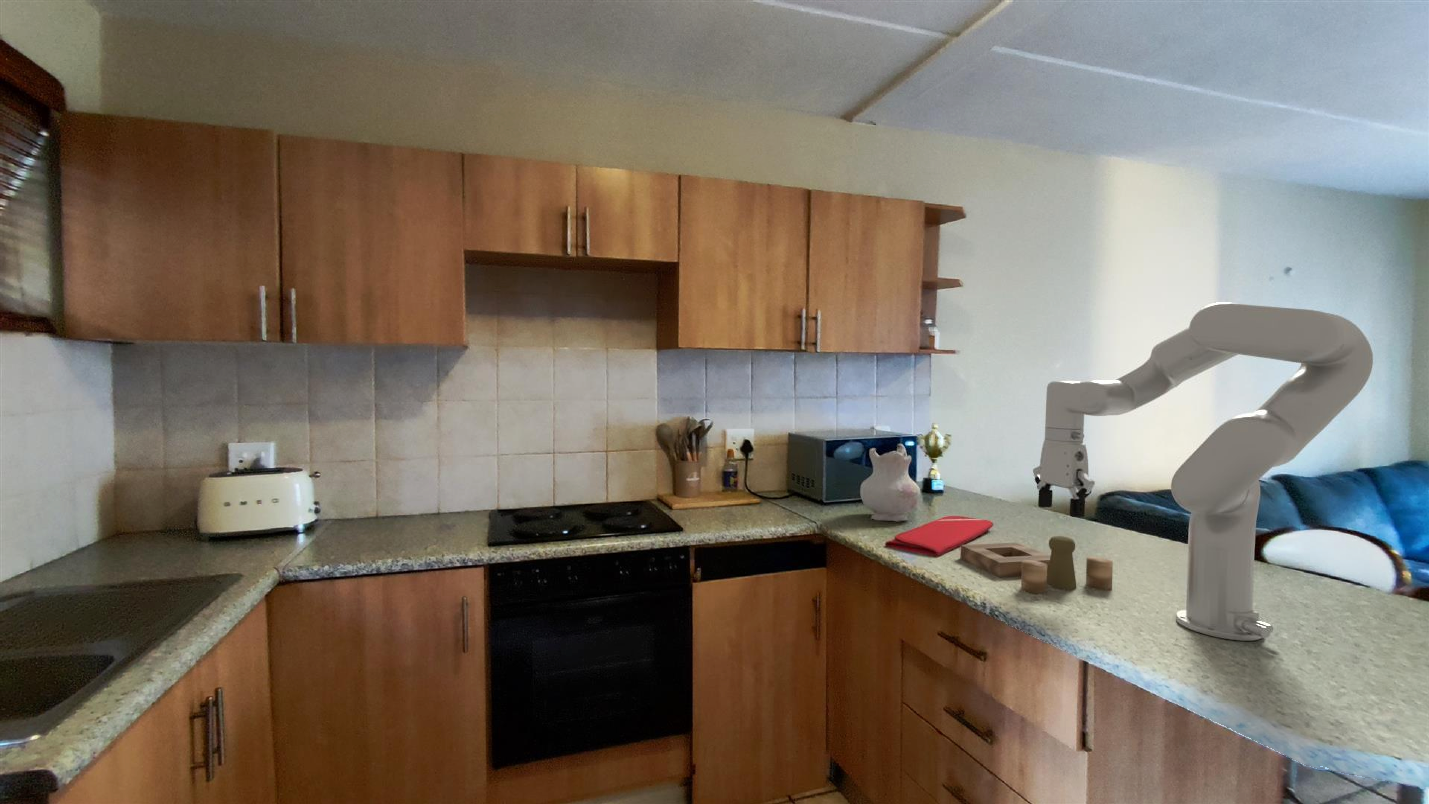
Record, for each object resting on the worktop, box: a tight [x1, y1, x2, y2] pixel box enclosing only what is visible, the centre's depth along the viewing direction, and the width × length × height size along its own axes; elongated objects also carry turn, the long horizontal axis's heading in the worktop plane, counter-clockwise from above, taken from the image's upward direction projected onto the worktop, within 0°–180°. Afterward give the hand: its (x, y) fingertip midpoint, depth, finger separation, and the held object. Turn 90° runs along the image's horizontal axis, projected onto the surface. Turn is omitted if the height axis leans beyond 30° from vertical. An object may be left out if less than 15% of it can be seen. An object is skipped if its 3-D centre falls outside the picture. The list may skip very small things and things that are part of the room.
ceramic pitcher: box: [859, 443, 922, 523], centre depth 209 cm, size 22×20×25 cm
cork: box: [1047, 535, 1078, 591], centre depth 139 cm, size 6×6×11 cm
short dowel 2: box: [1085, 556, 1114, 591], centre depth 138 cm, size 5×5×6 cm
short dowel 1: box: [1020, 560, 1048, 595], centre depth 135 cm, size 5×5×6 cm
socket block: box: [959, 542, 1051, 578], centre depth 154 cm, size 16×16×4 cm
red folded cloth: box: [884, 515, 994, 557], centre depth 181 cm, size 16×41×4 cm, turn 136°
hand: (1060, 511), depth 139 cm, fingers open, 9 cm apart
